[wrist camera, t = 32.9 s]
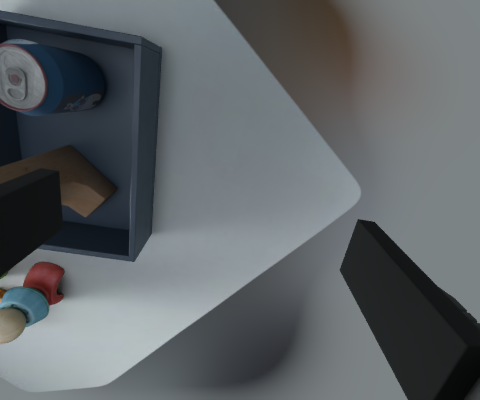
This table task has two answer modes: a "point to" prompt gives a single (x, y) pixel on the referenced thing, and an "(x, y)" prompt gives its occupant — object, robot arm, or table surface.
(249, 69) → the table surface
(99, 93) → the soda can
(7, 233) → the robot arm
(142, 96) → the bin
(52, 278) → the stacking toy
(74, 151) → the wooden block
